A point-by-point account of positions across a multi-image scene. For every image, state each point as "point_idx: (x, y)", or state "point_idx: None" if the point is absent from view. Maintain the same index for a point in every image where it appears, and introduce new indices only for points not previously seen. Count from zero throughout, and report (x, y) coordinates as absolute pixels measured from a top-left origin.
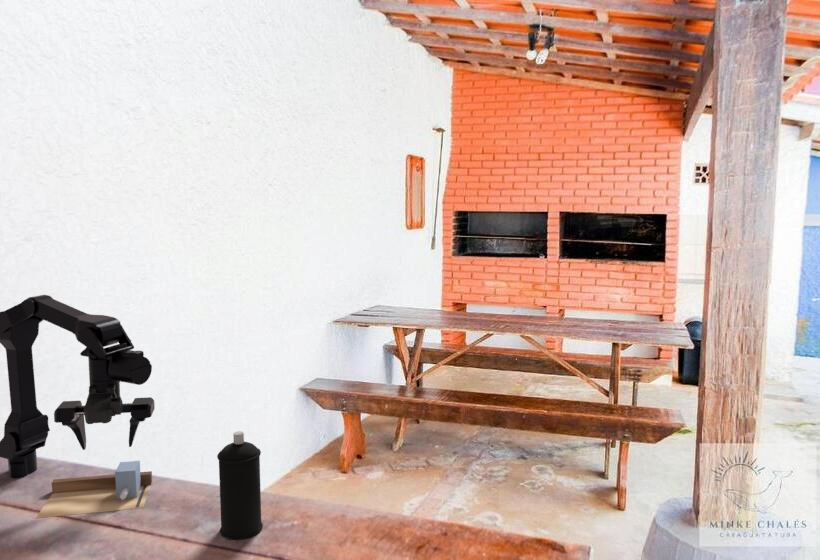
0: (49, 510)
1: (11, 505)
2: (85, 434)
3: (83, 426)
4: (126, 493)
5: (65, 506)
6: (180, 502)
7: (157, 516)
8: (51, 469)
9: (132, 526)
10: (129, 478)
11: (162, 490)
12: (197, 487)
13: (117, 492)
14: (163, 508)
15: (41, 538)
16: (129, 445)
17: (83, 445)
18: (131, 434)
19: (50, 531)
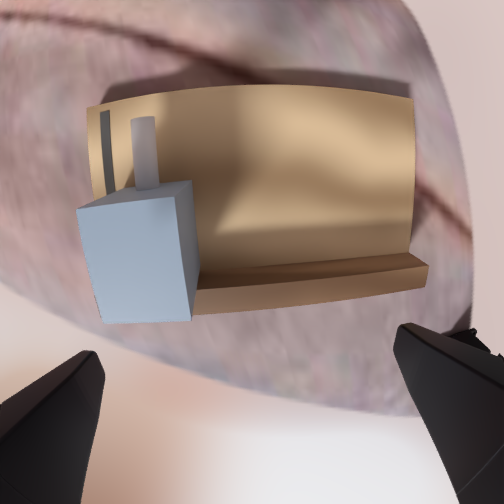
0: (394, 136)
1: (466, 231)
2: (428, 425)
3: (467, 465)
4: (131, 136)
5: (357, 152)
6: (22, 187)
7: (58, 102)
8: (405, 388)
9: (115, 44)
10: (118, 197)
11: (87, 269)
12: (15, 273)
13: (184, 183)
14: (52, 150)
15: (360, 25)
16: (87, 355)
17: (421, 336)
18: (20, 403)
19: (353, 52)
